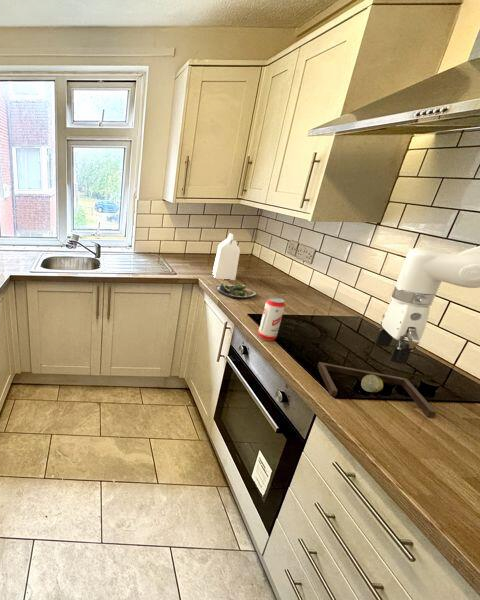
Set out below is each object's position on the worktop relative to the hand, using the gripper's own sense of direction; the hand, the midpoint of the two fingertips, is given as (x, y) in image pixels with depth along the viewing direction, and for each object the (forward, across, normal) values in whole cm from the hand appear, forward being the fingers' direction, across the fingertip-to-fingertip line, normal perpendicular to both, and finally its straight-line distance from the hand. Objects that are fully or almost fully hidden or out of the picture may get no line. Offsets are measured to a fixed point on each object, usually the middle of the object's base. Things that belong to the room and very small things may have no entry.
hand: (389, 353), depth 88 cm
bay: (+13, +1, +1) cm, 13 cm away
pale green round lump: (+13, +1, +1) cm, 13 cm away
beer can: (+13, +25, +25) cm, 38 cm away
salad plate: (+12, +72, +36) cm, 82 cm away
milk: (+12, +102, +42) cm, 110 cm away
